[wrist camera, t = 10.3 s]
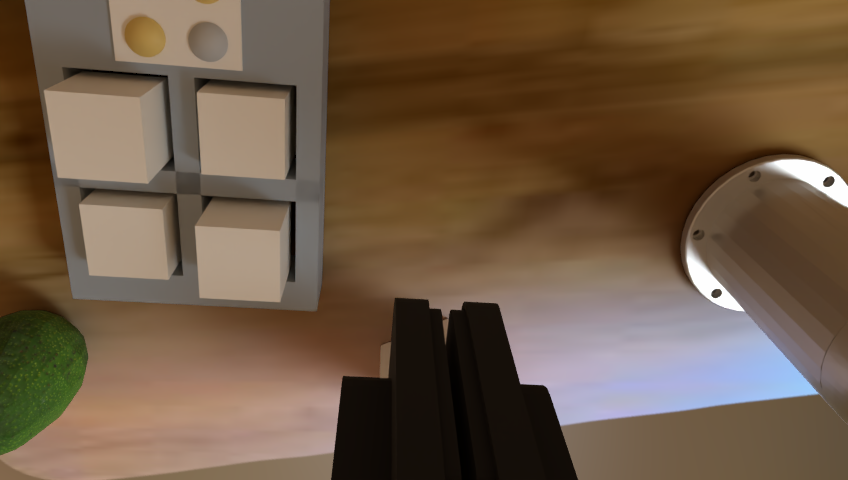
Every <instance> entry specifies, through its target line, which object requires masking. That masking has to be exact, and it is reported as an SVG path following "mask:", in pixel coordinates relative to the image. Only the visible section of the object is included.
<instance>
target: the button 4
mask: <svg viewBox="0 0 848 480" xmlns="http://www.w3.org/2000/svg"><path fill="white" fill-rule="evenodd" d="M195 236H196V251H197V266H198V281H199V297H200V298H209V299H228V300H246V301H265V302H280V301H281V298H282V294H283V291H284V288H285V284H286V281H287V277H288V274H289V270H290V267H291V201H280V200H265V199H250V198H234V197H219V196H214V197H213V198H212V200H211V201H210V203H209V204H208V206H207V208H206V209H205V211H204V212H203V214H202V215H201V217H200V219H199V220H198V222H197V223H196V225H195Z"/></svg>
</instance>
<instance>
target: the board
mask: <svg viewBox="0 0 848 480" xmlns="http://www.w3.org/2000/svg"><path fill="white" fill-rule="evenodd" d="M25 6H26V12H27V18H28V24H29V31H30V37H31V43H32V49H33V55H34V61H35V68H36V74H37V80H38V86H39V92H40V99H41V105H42V111H43V117H44V123H45V129H46V136H47V142H48V148H49V154H50V160H51V166H52V173H53V179H54V185H55V191H56V197H57V204H58V210H59V216H60V222H61V228H62V234H63V241H64V247H65V253H66V259H67V265H68V271H69V278H70V284H71V290H72V296H73V299H90V300H109V301H128V302H147V303H166V304H185V305H204V306H223V307H242V308H261V309H280V310H298V311H317V308H318V302H319V297H320V292H321V287H322V270H323V233H324V196H325V159H326V122H327V85H328V48H329V11H330V0H25ZM92 69H94V70H106V71H119V72H131V73H144V74H157V75H168V83H169V96H170V110H171V123H172V136H173V149H174V150H173V155H174V156H173V157H172V158H171V159H170V160H169V161H168V162H167V163H166V164H165V166H164V167H163V168H162V169H161V170H160V171H159V172H158V173H157V174H156V175H155V176H154V178H153V179H152V180H151V181H150V182H149V183H148V184H146V183H131V182H116V181H101V180H86V179H71V178H58V177H57V170H56V164H55V158H54V151H53V145H52V139H51V132H50V126H49V120H48V114H47V107H46V101H45V95H44V90H45V89H47V88H49V87H51V86H53V85H55V84H58V83H60V82H62V81H64V80H66V79H68V78H70V77H72V76H74V75H76V74H78V73H80V72H82V71H89V72H92ZM211 79H220V80H232V81H245V82H257V83H270V84H283V85H295V86H297V118H296V159H293V161H292V164H291V166H290V168H289V171H288V173H287V176H286V178H285V180H278V179H264V178H249V177H234V176H220V175H205V174H201V158H200V141H199V124H198V107H197V92H198V91H199V90H200V89H201V88H202V87H203V86H204V85H205V84H207V83H208V82H209V81H210V80H211ZM96 188H97V189H113V190H128V191H143V192H158V193H173V194H177V201H178V214H179V227H180V240H181V253H182V259H181V261H180V262H179V264H178V265H177V267H176V269H175V270H174V272H173V273H172V275H171V277H170V278H169V280H163V279H145V278H127V277H109V276H91V275H89V270H88V263H87V257H86V250H85V243H84V236H83V229H82V223H81V216H80V209H79V204H80V203H81V202H82V201H83V200H84V199H85V198H86V197H87V196H88V195H89V194H90V193H92V192H93V191H94V190H95V189H96ZM214 196H219V197H234V198H250V199H265V200H280V201H295V202H296V255H291V267H290V270H289V274H288V277H287V281H286V284H285V288H284V291H283V294H282V298H281V301H280V302H265V301H246V300H228V299H209V298H200V297H199V281H198V266H197V251H196V236H195V225H196V223H197V222H198V220H199V219H200V217H201V215H202V214H203V212H204V211H205V209H206V208H207V206H208V204H209V203H210V201H211V200H212V198H213V197H214Z"/></svg>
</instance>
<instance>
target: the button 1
mask: <svg viewBox="0 0 848 480" xmlns="http://www.w3.org/2000/svg"><path fill="white" fill-rule="evenodd" d="M44 95H45V101H46V107H47V114H48V120H49V126H50V132H51V139H52V145H53V151H54V158H55V164H56V170H57V177H58V178H71V179H86V180H101V181H116V182H131V183H146V184H148V183H149V182H150V181H151V180H152V179H153V178H154V176H155V175H156V174H157V173H158V172H159V171H160V170H161V169H162V168H163V167H164V166H165V164H166V163H167V162H168V161H169V160H170V159H171V158H172V157H173V156H174V155H173V142H172V129H171V116H170V103H169V90H168V78H165V77H152V76H139V75H127V74H114V73H102V72H89V71H82V72H80V73H78V74H76V75H74V76H72V77H70V78H68V79H66V80H64V81H62V82H60V83H58V84H55V85H53V86H51V87H49V88H47V89H45V90H44Z"/></svg>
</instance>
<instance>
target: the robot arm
mask: <svg viewBox="0 0 848 480" xmlns="http://www.w3.org/2000/svg"><path fill="white" fill-rule="evenodd" d="M680 248H681V260H682V264H683V267H684V270H685V273H686V275H687V276H688V278H689V280H690V281H691V283H692V284H693V285H694V287H695V288H696V289H697V290H698V291H699V292H700V294H701V295H703V296H704V297H705V298H706V299H708V300H709V301H710V302H712V303H714V304H716V305H719V306H721V307H723V308H726V309H731V310H735V311H745V312H746V313H747V314H748V315H749V317H750V318H751V319H752V320H753V321H754V322H755V323H756V324H757V325H758V327H759V328H760V329H761V330H762V331H763V332H764V333H765V334H766V335H767V337H768V338H769V339H770V340H771V341H772V342H773V343H774V344H775V345H776V347H777V348H778V349H779V350H780V351H781V352H782V353H783V354H784V355H785V357H786V358H787V359H788V360H789V361H790V362H791V363H792V364H793V365H794V367H795V368H796V369H797V370H798V371H799V372H800V373H801V374H802V375H803V377H804V378H805V379H806V380H807V381H808V382H809V383H810V384H811V385H812V387H813V388H814V389H815V390H816V391H817V392H818V393H819V394H820V395H821V396H822V397H823V399H824V400H825V401H826V402H827V403H828V404H829V405H830V407H831V408H832V409H833V410H834V411H835V412H836V413H837V414H838V415H839V416H840V417H841V418H842V419H843V420H844V422H846V423H847V424H848V185H847V183H846V182H845V181H844V180H843V178H842V177H841V176H840V175H839V174H838V173H836V172H835V171H834V170H832V169H831V168H829V167H828V166H826V165H824V164H822V163H821V162H819V161H817V160H815V159H811V158H808V157H805V156H801V155H791V154H780V155H770V156H765V157H761V158H758V159H754V160H751V161H749V162H746V163H744V164H742V165H740V166H738V167H736V168H734V169H732V170H731V171H729V172H728V173H726V174H725V175H723V176H722V177H720V178H719V179H718V180H717V181H716V182H714V183H713V184H712V185H711V186H710V187H709V188H708V189H707V190H706V191H705V192H704V193H703V195H702V196H701V197H700V198H699V200H698V201H697V202H696V203H695V205H694V207H693V209H692V211H691V212H690V214H689V216H688V218H687V221H686V223H685V226H684V229H683V232H682V239H681V247H680ZM331 480H578V478H577V476H576V472H575V469H574V467H573V463H572V460H571V458H570V454H569V451H568V448H567V445H566V442H565V439H564V436H563V433H562V430H561V427H560V424H559V421H558V418H557V415H556V412H555V409H554V406H553V403H552V400H551V397H550V394H549V392H548V390H547V388H546V387H545V386H544V385H524V384H520V382H519V378H518V374H517V371H516V367H515V363H514V360H513V356H512V352H511V349H510V345H509V341H508V338H507V334H506V330H505V327H504V323H503V319H502V316H501V312H500V308H499V306H498V304H496V303H478V302H464V303H463V306H462V310H451V311H450V314H449V321H448V329H447V337H446V345H445V336H444V328H443V320H442V312H441V309H429V301H428V300H424V299H406V298H395V302H394V312H393V324H392V337H391V349H390V361H389V374H388V378H372V377H350V376H343V379H342V387H341V396H340V405H339V414H338V423H337V432H336V441H335V450H334V460H333V469H332V478H331Z"/></svg>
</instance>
